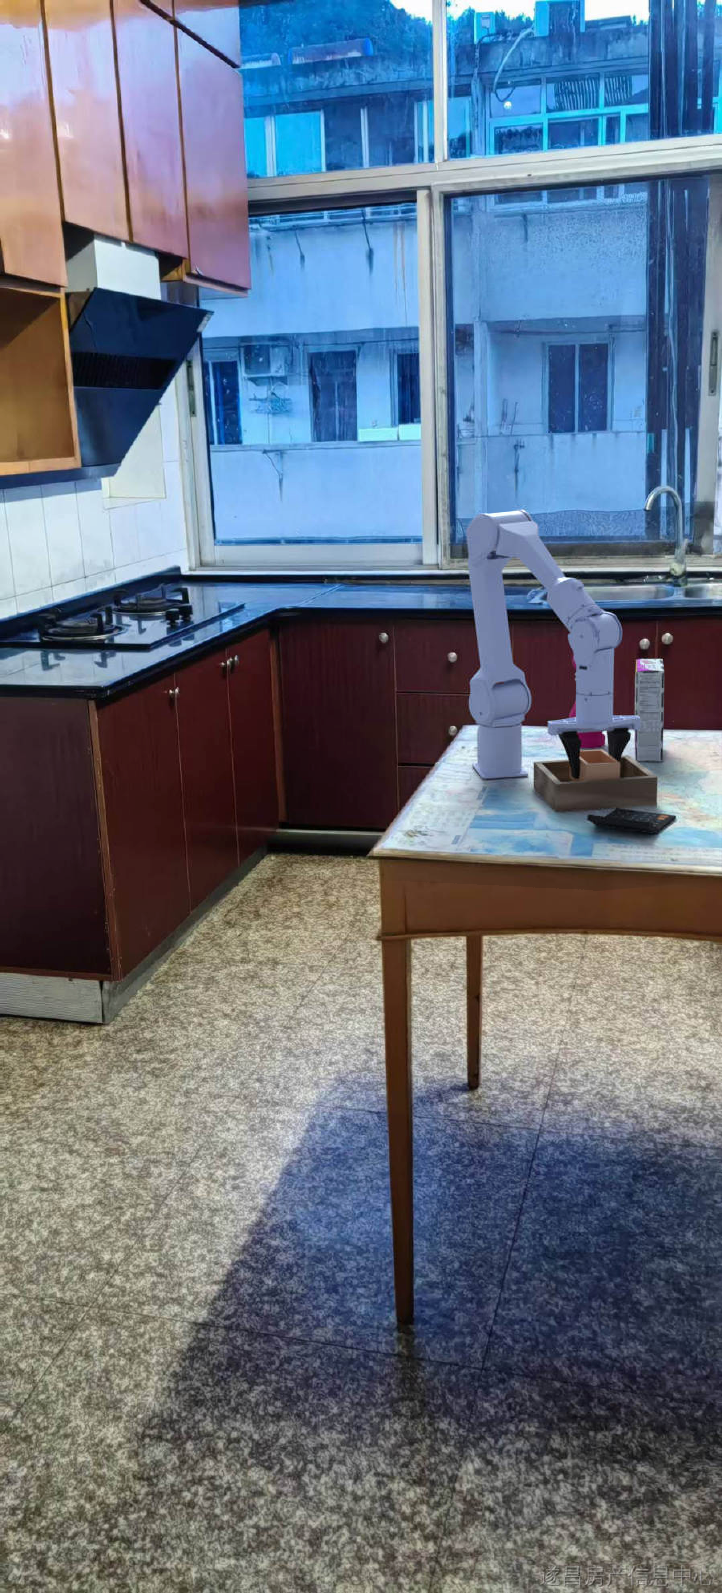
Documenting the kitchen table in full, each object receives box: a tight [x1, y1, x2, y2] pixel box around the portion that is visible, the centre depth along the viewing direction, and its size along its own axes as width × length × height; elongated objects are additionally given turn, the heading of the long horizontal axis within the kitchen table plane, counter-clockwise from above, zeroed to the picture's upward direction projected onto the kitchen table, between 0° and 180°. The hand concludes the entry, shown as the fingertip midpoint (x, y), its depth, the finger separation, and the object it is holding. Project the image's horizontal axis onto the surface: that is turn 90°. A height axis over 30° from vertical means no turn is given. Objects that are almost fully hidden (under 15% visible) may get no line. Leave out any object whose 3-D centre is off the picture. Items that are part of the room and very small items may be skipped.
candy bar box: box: [634, 658, 665, 763], centre depth 223 cm, size 11×5×16 cm, turn 168°
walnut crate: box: [533, 754, 658, 813], centre depth 201 cm, size 14×16×4 cm
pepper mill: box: [568, 654, 606, 749], centre depth 231 cm, size 7×7×20 cm
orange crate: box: [569, 749, 620, 782], centre depth 200 cm, size 9×5×5 cm, turn 7°
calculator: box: [586, 808, 677, 835], centre depth 186 cm, size 9×12×3 cm
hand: (593, 775), depth 201 cm, fingers closed on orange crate, 5 cm apart
